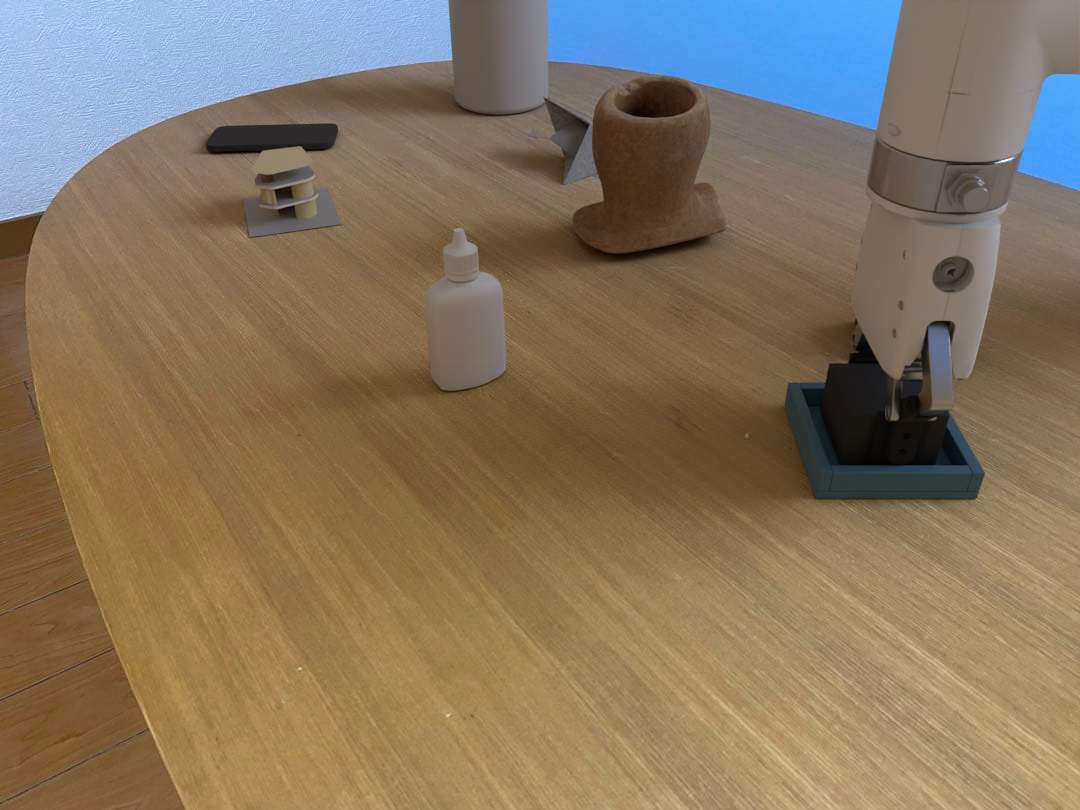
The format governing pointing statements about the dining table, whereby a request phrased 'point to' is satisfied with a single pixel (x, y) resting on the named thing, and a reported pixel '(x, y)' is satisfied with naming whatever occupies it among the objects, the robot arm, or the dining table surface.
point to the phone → (272, 137)
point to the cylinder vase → (499, 54)
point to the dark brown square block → (866, 410)
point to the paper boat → (571, 141)
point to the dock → (829, 479)
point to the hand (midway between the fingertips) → (877, 430)
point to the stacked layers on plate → (287, 195)
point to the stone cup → (650, 167)
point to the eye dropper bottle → (465, 321)
